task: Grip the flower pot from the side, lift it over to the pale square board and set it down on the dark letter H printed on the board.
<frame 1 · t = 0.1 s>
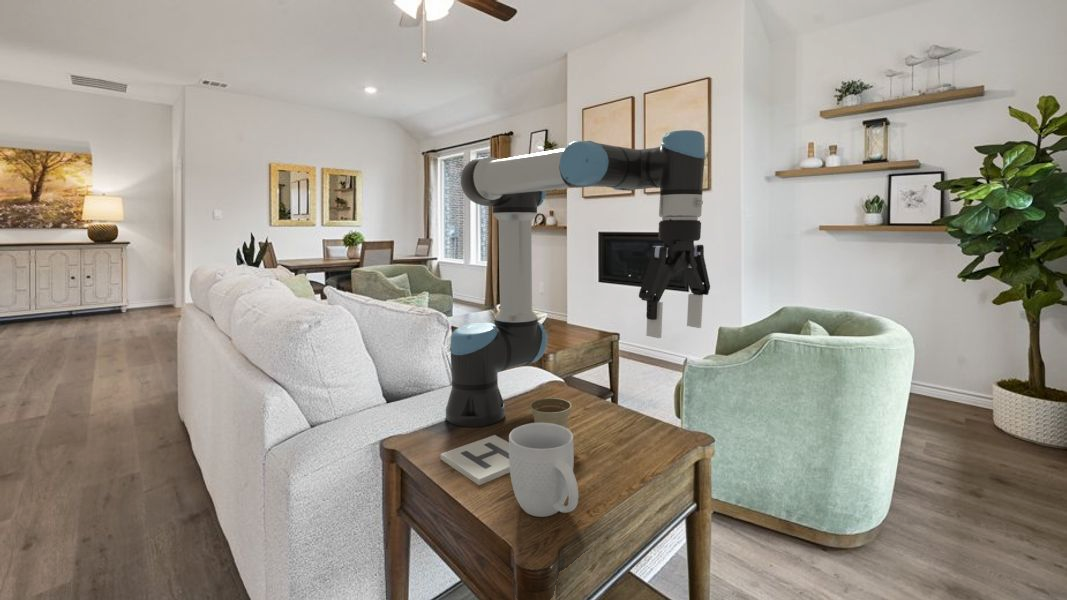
hand: (674, 331, 93), 28 cm above the table, tool pointing down, fingers open, 13 cm apart
mug: (544, 510, 83), on the table
flower pot: (550, 442, 110), on the table
letter board: (487, 460, 101), on the table
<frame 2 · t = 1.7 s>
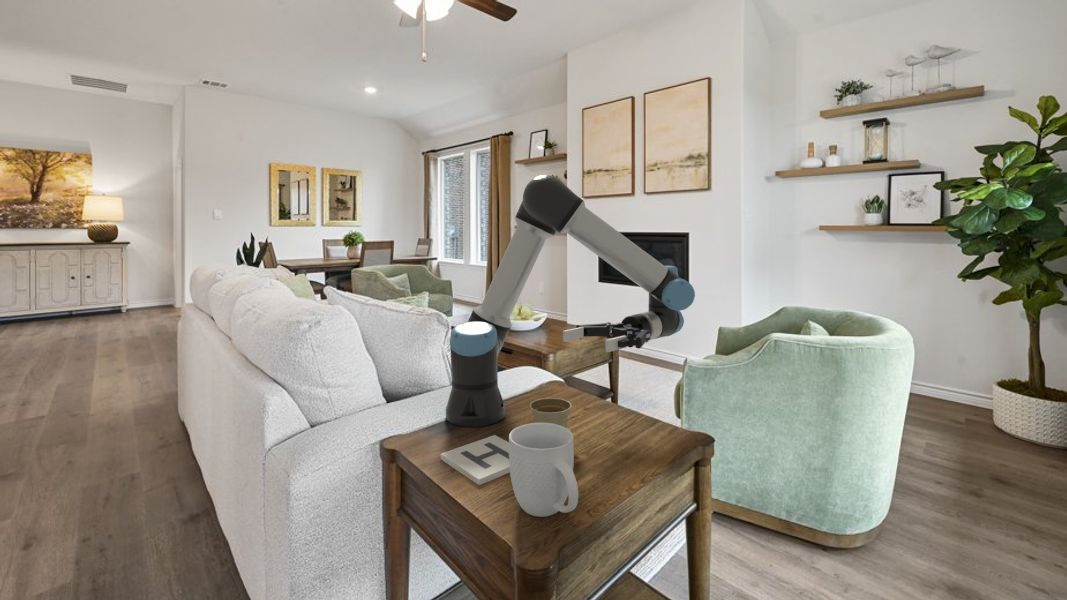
hand: (584, 341, 114), 21 cm above the table, tool horizontal, fingers open, 13 cm apart
nothing on the table moved.
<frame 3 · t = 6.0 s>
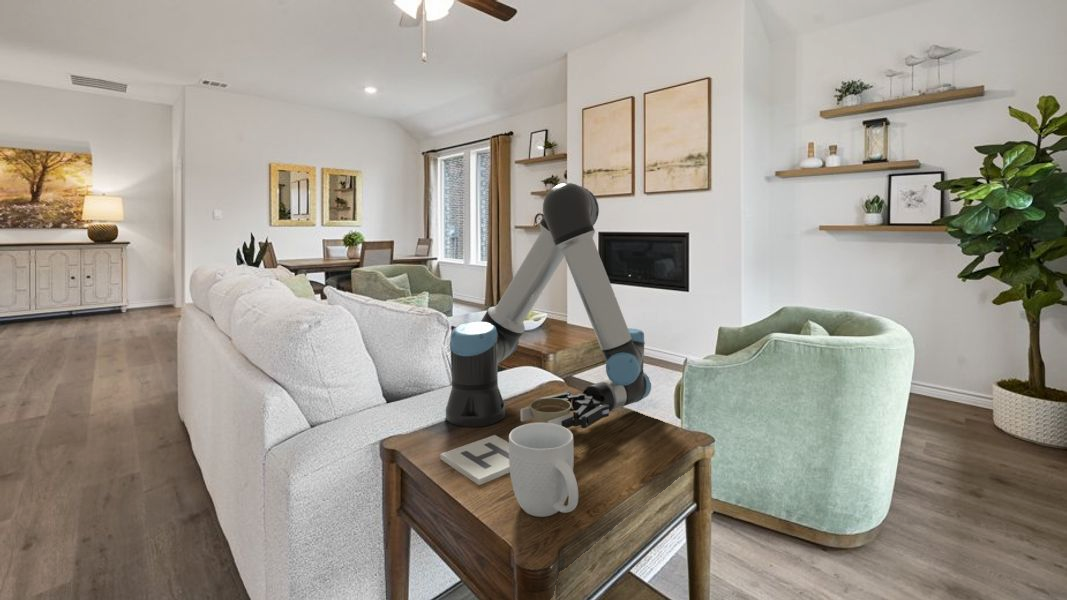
hand: (534, 421, 106), 6 cm above the table, tool horizontal, fingers closed on flower pot, 8 cm apart
flower pot: (550, 442, 110), on the table, touching gripper
everything else where it was.
when the fingers open (8 cm above the table, at t = 11.1 s): flower pot moves 3 cm, resting on letter board.
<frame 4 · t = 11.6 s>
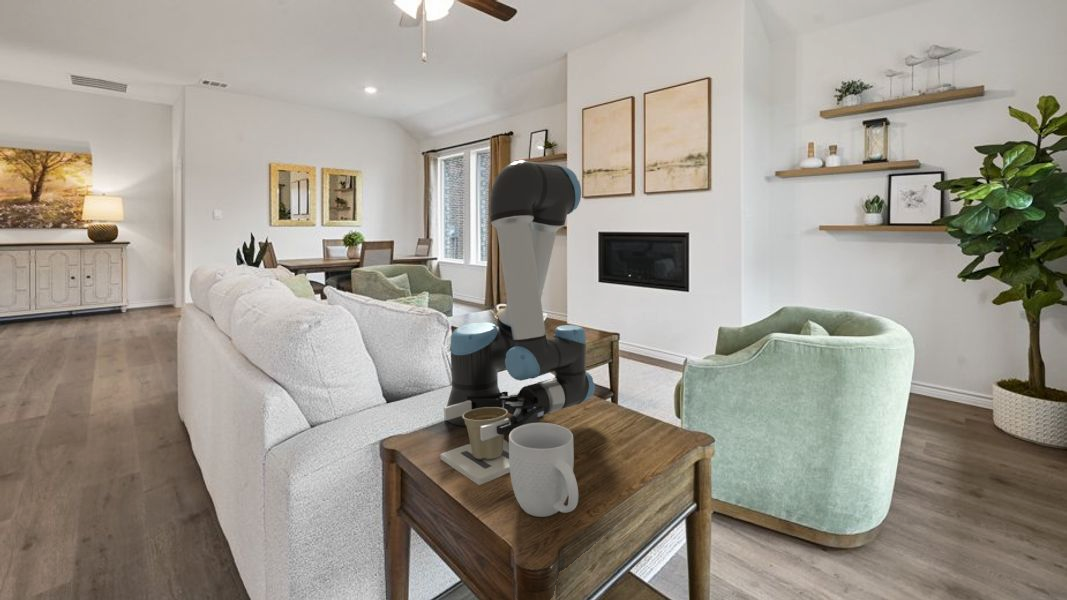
hand: (462, 423, 99), 8 cm above the table, tool horizontal, fingers open, 13 cm apart
flower pot: (487, 455, 101), point 1 cm above the table, touching gripper, letter board
everything else where it was.
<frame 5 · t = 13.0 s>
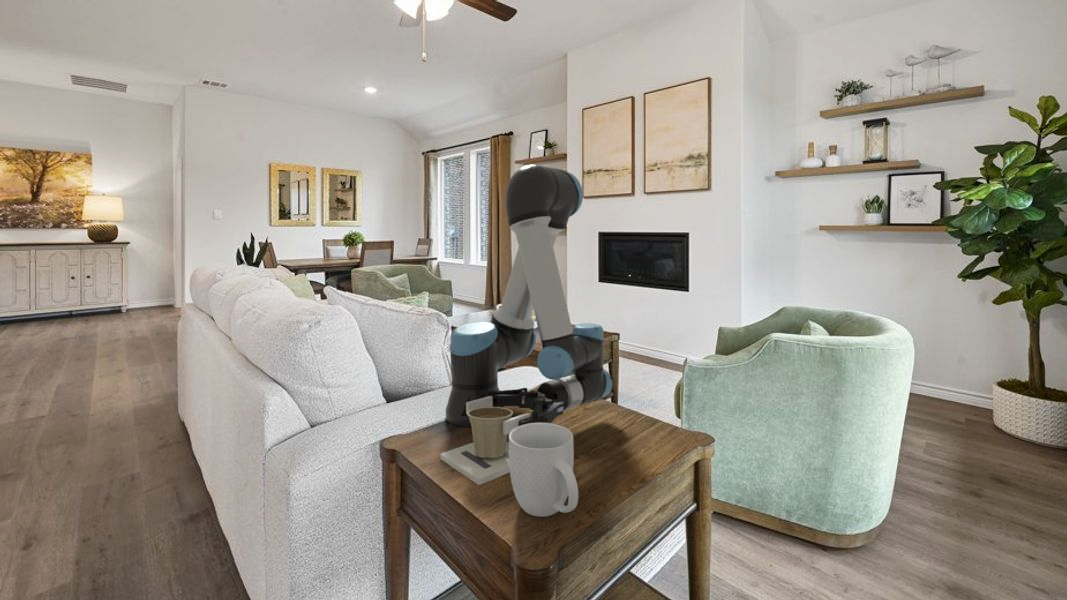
hand: (484, 417, 102), 9 cm above the table, tool horizontal, fingers open, 13 cm apart
flower pot: (489, 454, 100), point 1 cm above the table, touching gripper
everything else where it was.
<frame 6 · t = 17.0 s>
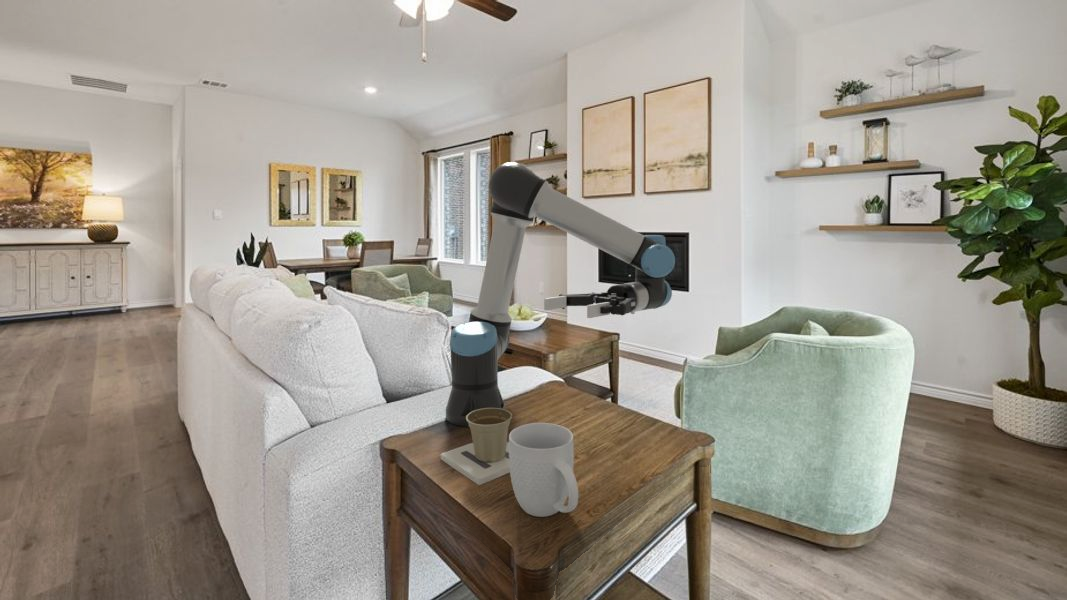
hand: (565, 307, 109), 30 cm above the table, tool horizontal, fingers open, 13 cm apart
flower pot: (489, 456, 100), point 1 cm above the table, touching letter board
everything else where it was.
at the end: flower pot inside the target area on the letter board (0.7 cm from its centre), point 1.0 cm above the letter board's base; flower pot tilted 0°; the gripper is holding nothing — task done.
